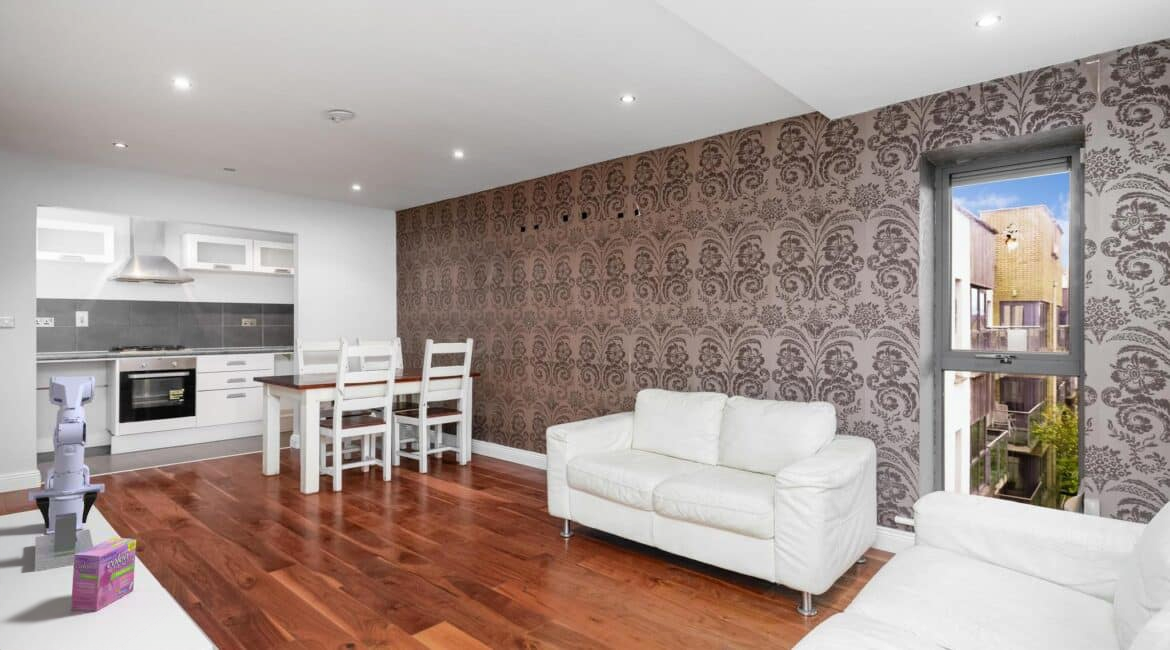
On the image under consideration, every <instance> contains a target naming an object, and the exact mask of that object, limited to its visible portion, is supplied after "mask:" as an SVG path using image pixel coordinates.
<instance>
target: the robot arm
mask: <svg viewBox="0 0 1170 650" xmlns="http://www.w3.org/2000/svg"><path fill="white" fill-rule="evenodd" d="M48 385H49V386H48V397H49V402H50V404H51V405H55V406H58V408H59V409H58V410H57V412H56V425H54V427H53V435H52V436H53V439H52V445H53V454H54V457H53V458H54V459H53V460H54V462H53V465H52V466H51V467H48V469H47V471H45V477H44V487H43V488H44V489H37V490H30V491H28V500H27V501H28V502H32V501H35V504H36V506H37V508H38V509H39V511H40V513H41V515H42V519H43V521H44V525H45V526H44V527H45V531H46V534H47V535H52V534H55V516H56V515H61V514H68V513H76V514H77V524H76V531H80V530H85V529H84V528H85V526H84V524H86V523H87V519H88V516H89V513H90V511H91V508H92V507H93V505H94V503H95V501H96V500H97V498H98V494H103V493H105V483H94V484H90V479H91V478H90V468H89V466H88V465H87V464H85V462H84V461H85V445H87V442H88V431H89V428H88V422H87V420H86V410H85V408H84V406H85V405H87V404H90V403H92V401H93V400H94V396H95V390H96V389H95V388H96V387H95V386H96V378H95V376H94V375H85V376H83V375H82V376H81V375H80V376H79V375H75V376H73V375H72V376H71V375H70V376H55V375H52V376H51V377H50V378H49V383H48Z"/></svg>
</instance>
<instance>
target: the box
mask: <svg viewBox="0 0 1170 650" xmlns="http://www.w3.org/2000/svg"><path fill="white" fill-rule="evenodd" d="M136 547H137V539H135V538H127V537H126V538H125V537H124V538H123V537H111V538H110V539H107V540H104V541H102V542H100V543H98V544H96V545H93V547H91V548H89V549H87V550H84V551H82V552H80V553H78V554H75V555H74V565H73V573H72V587H71V588H72V590H71V604H70V605H71V606H70V611H80V612H81V611H82V612H98V611H100V610H102V609H103V608H105V607H107V606H109V605H110V604H112V603H114V602H116V601H117V600H119V599H120V598H123V597H124V596H127V595H128V594H129V593H131V592H133V591H134V586H135V584H134V583H135V582H134V581H135V563H136V562H135V561H136V550H137V548H136Z"/></svg>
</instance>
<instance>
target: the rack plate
mask: <svg viewBox="0 0 1170 650" xmlns="http://www.w3.org/2000/svg"><path fill="white" fill-rule="evenodd" d="M54 536H55V533H52V534H47V535H39V536H35V538H34V539H35V543H34V572H39V571H44V570H50V569H56V568H57V569H58V568H61V567H62V566H63V567H68V566H67V565H69V566H74V565H73V564H74V555H75V554H78V553H80V552H82V551H84V550H87V549H89V548H91V547H93V546H94V544H93V540H92V539H93V538H92V534H91V531H90V528H89V529H88V528H87V529H80V530H76V544H75V548H74V549H68V550H62V551H55V552H54Z"/></svg>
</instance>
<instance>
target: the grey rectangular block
mask: <svg viewBox="0 0 1170 650" xmlns="http://www.w3.org/2000/svg"><path fill="white" fill-rule="evenodd" d="M76 524H77V514H76V513H68V514H61V515H56V516H55V533H54V534H55V536H54V552H55V551H62V550H68V549H74V548H75V544H76V531H77V530H76Z"/></svg>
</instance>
